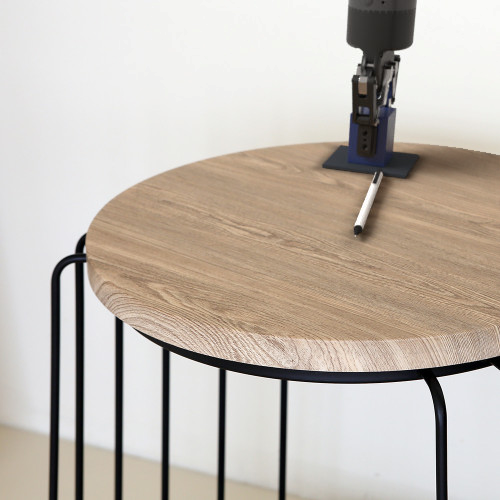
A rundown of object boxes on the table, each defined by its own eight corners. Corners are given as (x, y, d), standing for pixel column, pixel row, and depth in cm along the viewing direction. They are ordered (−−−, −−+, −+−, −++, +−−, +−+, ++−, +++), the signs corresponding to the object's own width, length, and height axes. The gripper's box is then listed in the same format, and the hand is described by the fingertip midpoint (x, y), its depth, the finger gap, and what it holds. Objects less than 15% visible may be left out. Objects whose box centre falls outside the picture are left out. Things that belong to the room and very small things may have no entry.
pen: (384, 174, 92) (384, 165, 92) (359, 240, 76) (360, 230, 75) (376, 173, 93) (377, 164, 92) (350, 239, 76) (351, 229, 75)
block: (392, 155, 98) (396, 107, 95) (384, 167, 94) (388, 117, 91) (356, 151, 99) (359, 104, 96) (347, 162, 95) (350, 113, 93)
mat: (419, 157, 98) (419, 154, 98) (405, 178, 92) (405, 175, 91) (340, 148, 102) (340, 144, 101) (322, 167, 95) (322, 164, 95)
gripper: (402, 14, 81) (389, 172, 89) (427, -4, 93) (414, 136, 101) (331, 9, 84) (324, 164, 91) (365, -8, 96) (356, 129, 103)
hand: (371, 148), depth 96 cm, fingers open, 4 cm apart
